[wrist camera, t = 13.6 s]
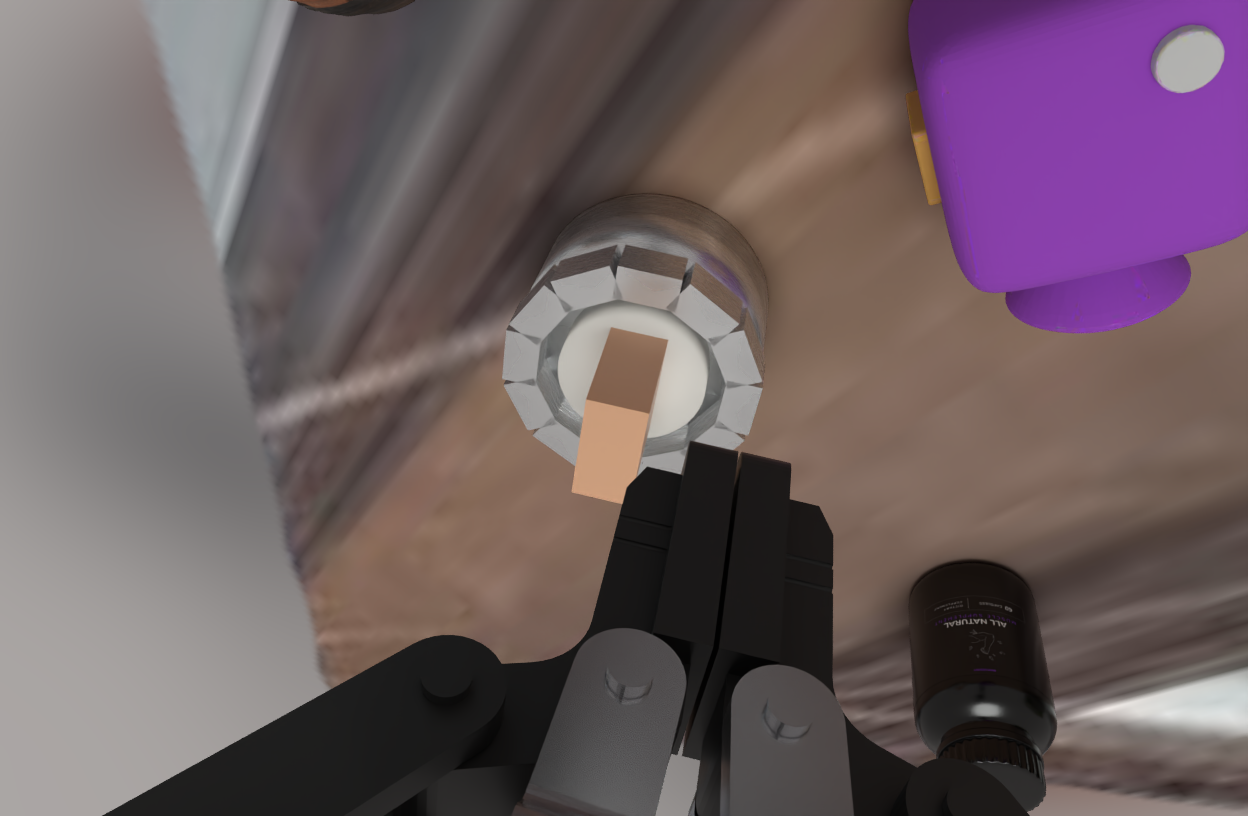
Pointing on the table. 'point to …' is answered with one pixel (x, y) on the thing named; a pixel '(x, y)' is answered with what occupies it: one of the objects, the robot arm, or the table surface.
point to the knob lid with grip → (628, 388)
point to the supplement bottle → (982, 675)
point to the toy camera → (1082, 147)
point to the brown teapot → (354, 6)
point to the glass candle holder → (652, 276)
